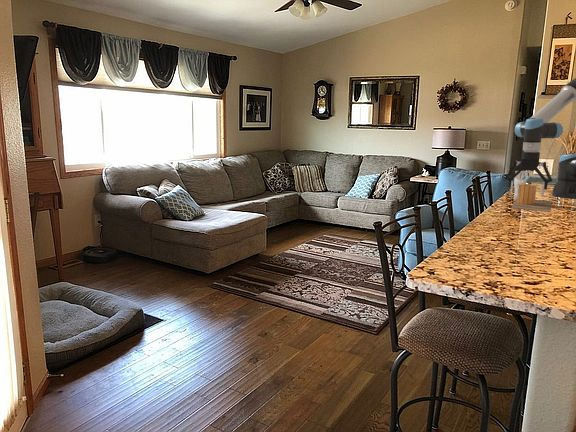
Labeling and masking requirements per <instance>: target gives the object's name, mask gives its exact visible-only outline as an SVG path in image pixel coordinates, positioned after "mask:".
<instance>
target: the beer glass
mask: <svg viewBox="0 0 576 432" xmlns="http://www.w3.org/2000/svg"><path fill="white" fill-rule="evenodd" d="M517 171H518V170H515V172H514V174H515V173H516V172H517ZM526 176H530V171H525V170H522V171H521V172H520V173H519V174H518V175H517V176H516V177H515V178H514V179H513V181H514V182H513V189H514V194H513V200H516V199H517V198H518V188H519V184H526V182H525V181H526Z"/></svg>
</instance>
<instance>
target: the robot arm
mask: <svg viewBox="0 0 576 432" xmlns="http://www.w3.org/2000/svg"><path fill="white" fill-rule="evenodd" d="M573 102H576V77H575V78H572V80H570V81H569V82H567V83H566V84H565V85H563V86H562V88H561V89H560V92H558V93H557V94H556V95H555V96H553V98H552V99H550V100H549V101H548V102H547V103H546V104H545V105H544V106H541V108H540V109H539V110H538V111H537V112H535V113H534V114H533V115H532V116H531V117H529V118H527V119H526V120H525V121H521V122H518V123H517V124H516V125H515V127H514V134H515V135H516V137H519V138H523V141H522V152H521V160H520V161H518V160H514V162H513V165H512V167H511V169H509V172H508V173H507V174H506V176H505V177H504V178H505V180H507V181H508V188H510V192H509V195H513V193H514V192H513V191H514V190H513V189H514V178H515V177H516V176H517V175H518V174H519V173H520V172H521V171H529V172H534V171H535V172H536V173H537V174H538V177H541V178H542V179H543V181H544V182H543V183H542V187H541V188H542V189H541V197H543V198H544V195H545V194H544V193H545V190H547V189H548V184H549V183H548V182H552V178H553V177H552V175H551V174H550V172H549V169H548V167H547V162H546V161H544V162H543V161H542V162H540V157H541V156H540V155H541V149H542V148H541V147H542V140H543V139H551V140H552V139H557V138H559V137H561V136H562V134H563V132H564V128H563V125H562V124H561V123H560V122H552V121H551V120H553V119H554V118H555V117H556V116H557V115H558V114H559V113H561V112H562V110H564V109H565V108H567V106H568V105H570V104H571V103H573ZM550 121H551V122H550ZM519 165H520V166H521V168H519V169H518V170H516V171H517V172H516V173H515V172H514V170H515V168H516V167H517V166H519ZM540 166H541V167H543V170H544V172H545V175H544V174H543V173H542V171H540V169H539V167H540ZM513 172H514V174H513V175H512V176H511V174H512V173H513ZM545 177H548V180H547V179H546V178H545ZM556 178H557V183H556V184H555V183H554V184H555V185H554V186H553V189H552V191H551V196H553V197H558V198H565V199H566V198H567V199H576V153H570V154H562V155H561V156H559V160H558V168H557V177H556Z"/></svg>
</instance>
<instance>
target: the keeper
mask: <svg viewBox="0 0 576 432" xmlns="http://www.w3.org/2000/svg"><path fill="white" fill-rule="evenodd" d="M544 177H545V178H546V179H547V180H548V177H547V176H544ZM551 178H552V182H548V184H556V183H557V177H551ZM525 182H532V183H539V184H543V182H544V181H543V179H542V178H541V177H540V176H530V175H529V176H526V181H525Z"/></svg>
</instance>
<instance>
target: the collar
mask: <svg viewBox="0 0 576 432" xmlns="http://www.w3.org/2000/svg"><path fill="white" fill-rule="evenodd" d="M536 194H537V184H533V183H532V184H519V188H518V198H517V203H519V204H528V205H531V204H535V200H536Z"/></svg>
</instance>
